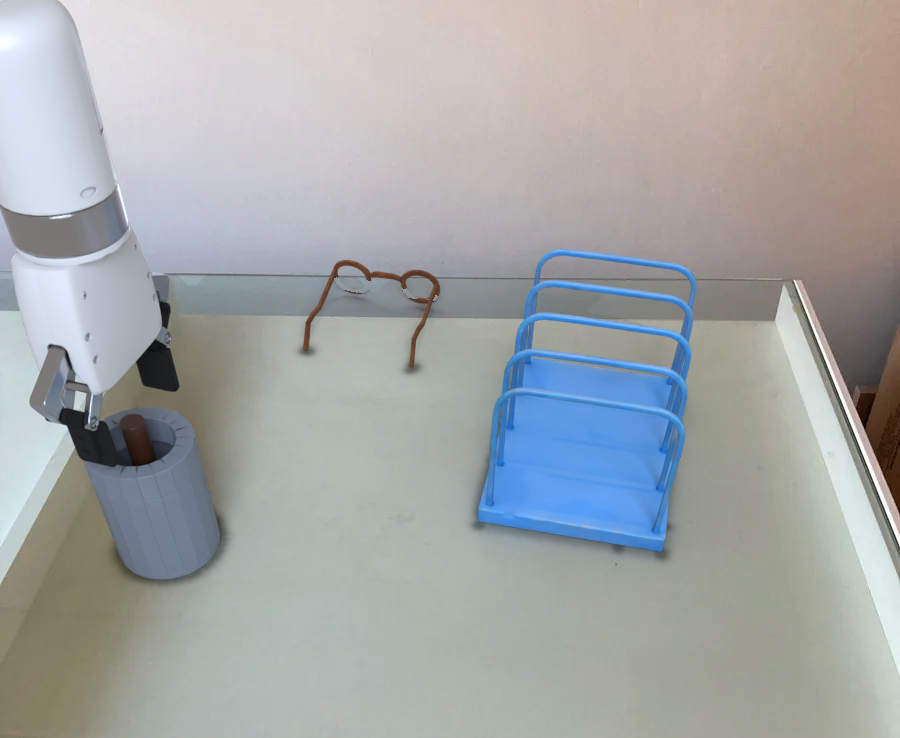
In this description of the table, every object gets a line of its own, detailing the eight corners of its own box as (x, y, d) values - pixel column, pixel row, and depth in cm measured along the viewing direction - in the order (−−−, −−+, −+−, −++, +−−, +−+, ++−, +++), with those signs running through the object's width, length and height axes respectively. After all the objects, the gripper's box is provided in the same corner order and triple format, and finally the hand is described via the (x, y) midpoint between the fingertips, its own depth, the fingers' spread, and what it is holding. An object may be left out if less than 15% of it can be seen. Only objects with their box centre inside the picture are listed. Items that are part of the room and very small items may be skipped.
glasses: (441, 307, 109) (441, 268, 105) (413, 370, 101) (412, 331, 97) (336, 291, 111) (333, 253, 107) (300, 352, 103) (295, 313, 99)
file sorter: (661, 555, 83) (699, 422, 72) (476, 525, 85) (482, 391, 74) (676, 391, 99) (708, 260, 87) (519, 369, 101) (530, 239, 90)
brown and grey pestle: (141, 548, 82) (99, 430, 72) (161, 521, 84) (123, 403, 74) (177, 557, 82) (140, 439, 71) (196, 529, 84) (162, 412, 73)
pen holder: (101, 566, 81) (59, 465, 72) (150, 500, 87) (117, 398, 78) (192, 589, 80) (161, 488, 71) (236, 520, 85) (213, 418, 76)
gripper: (86, 152, 66) (143, 353, 79) (-67, 273, 55) (29, 483, 68) (180, 167, 64) (222, 370, 78) (42, 294, 54) (118, 504, 67)
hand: (132, 422), depth 73 cm, fingers open, 9 cm apart
